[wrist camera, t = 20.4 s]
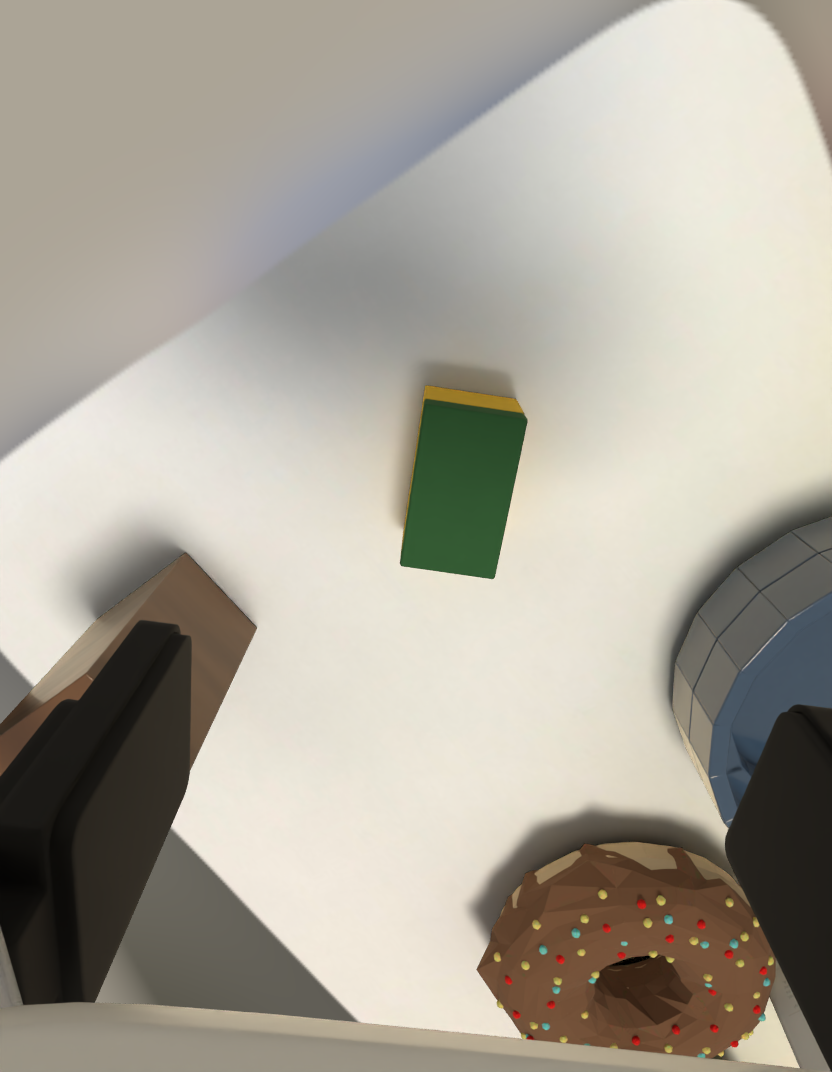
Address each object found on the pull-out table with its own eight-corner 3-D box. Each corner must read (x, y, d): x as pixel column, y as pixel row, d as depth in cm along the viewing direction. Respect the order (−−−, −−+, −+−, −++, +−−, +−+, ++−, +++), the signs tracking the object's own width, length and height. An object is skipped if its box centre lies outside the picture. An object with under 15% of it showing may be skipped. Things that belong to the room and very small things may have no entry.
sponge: (425, 384, 26) (424, 403, 23) (516, 398, 26) (528, 419, 23) (403, 530, 28) (399, 566, 25) (487, 543, 28) (494, 580, 25)
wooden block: (185, 552, 29) (85, 672, 21) (257, 627, 30) (190, 771, 22) (95, 620, 30) (-33, 759, 22) (167, 690, 32) (72, 846, 23)
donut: (779, 825, 34) (835, 916, 29) (713, 1010, 39) (751, 1112, 34) (488, 803, 34) (497, 892, 29) (461, 992, 39) (465, 1092, 34)
